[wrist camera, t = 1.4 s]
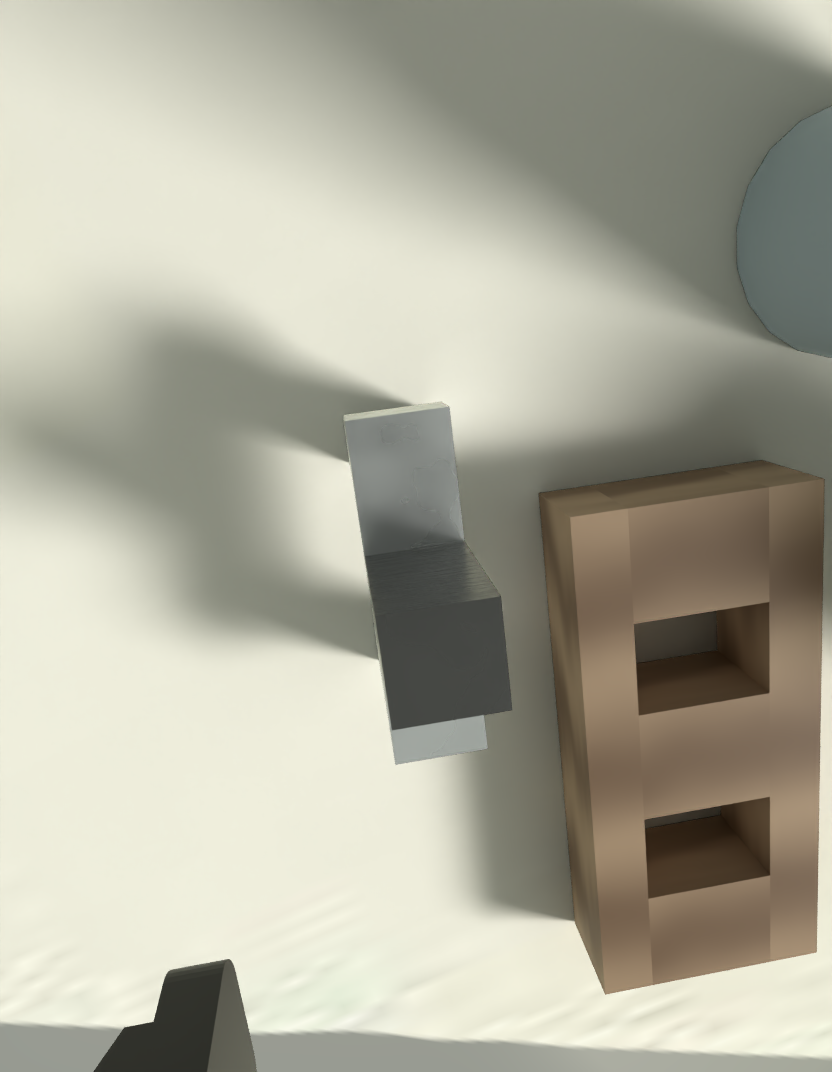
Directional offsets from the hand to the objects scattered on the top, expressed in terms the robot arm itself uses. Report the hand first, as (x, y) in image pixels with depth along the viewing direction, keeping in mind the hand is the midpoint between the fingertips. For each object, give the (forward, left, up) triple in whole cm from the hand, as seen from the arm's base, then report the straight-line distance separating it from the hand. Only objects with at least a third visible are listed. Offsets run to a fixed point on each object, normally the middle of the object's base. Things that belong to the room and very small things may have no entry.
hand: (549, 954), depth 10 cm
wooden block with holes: (+9, +10, -21) cm, 25 cm away
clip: (0, 0, -21) cm, 21 cm away
